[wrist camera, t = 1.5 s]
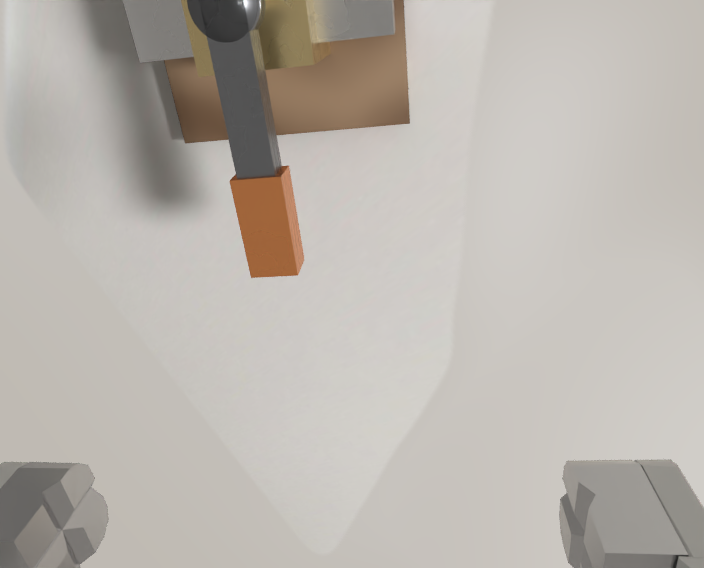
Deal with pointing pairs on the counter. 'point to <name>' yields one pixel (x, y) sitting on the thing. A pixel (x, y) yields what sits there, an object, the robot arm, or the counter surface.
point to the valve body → (260, 30)
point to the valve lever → (251, 136)
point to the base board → (310, 90)
